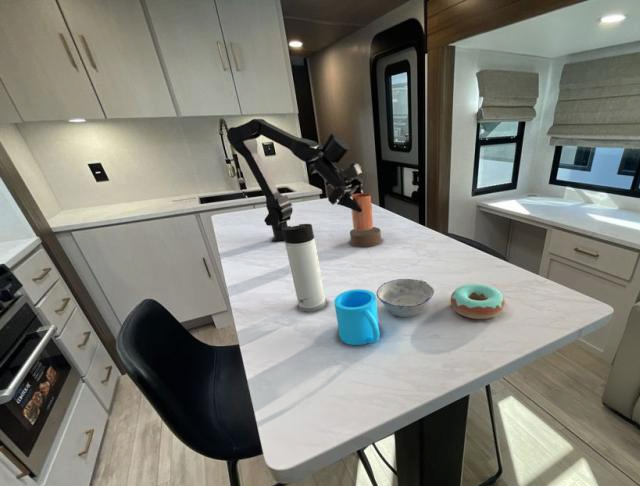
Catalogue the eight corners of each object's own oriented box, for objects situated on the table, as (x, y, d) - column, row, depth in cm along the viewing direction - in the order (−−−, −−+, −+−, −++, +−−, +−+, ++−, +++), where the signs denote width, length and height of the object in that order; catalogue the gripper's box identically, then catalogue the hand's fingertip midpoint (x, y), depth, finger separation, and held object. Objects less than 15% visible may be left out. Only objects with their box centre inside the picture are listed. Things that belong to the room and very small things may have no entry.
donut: (447, 296, 79) (448, 281, 77) (496, 295, 78) (498, 280, 76) (453, 323, 68) (454, 307, 66) (509, 322, 68) (512, 306, 66)
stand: (351, 238, 120) (350, 227, 118) (380, 236, 121) (379, 225, 119) (350, 248, 111) (349, 237, 109) (382, 245, 112) (381, 234, 110)
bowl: (391, 291, 82) (390, 274, 79) (439, 299, 77) (440, 281, 75) (368, 317, 71) (366, 298, 69) (423, 328, 67) (423, 308, 65)
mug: (333, 331, 67) (327, 297, 63) (366, 318, 71) (363, 285, 67) (360, 360, 59) (355, 324, 55) (396, 344, 63) (395, 308, 59)
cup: (350, 229, 110) (346, 196, 105) (359, 224, 116) (356, 192, 110) (367, 231, 108) (364, 197, 102) (376, 225, 113) (373, 193, 108)
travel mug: (302, 315, 73) (284, 230, 63) (296, 303, 78) (278, 222, 68) (329, 308, 76) (315, 225, 66) (321, 296, 81) (307, 218, 71)
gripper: (331, 158, 93) (370, 197, 96) (356, 152, 109) (388, 186, 112) (312, 185, 99) (349, 222, 102) (338, 176, 115) (369, 208, 117)
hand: (365, 208), depth 108 cm, fingers closed on cup, 7 cm apart
